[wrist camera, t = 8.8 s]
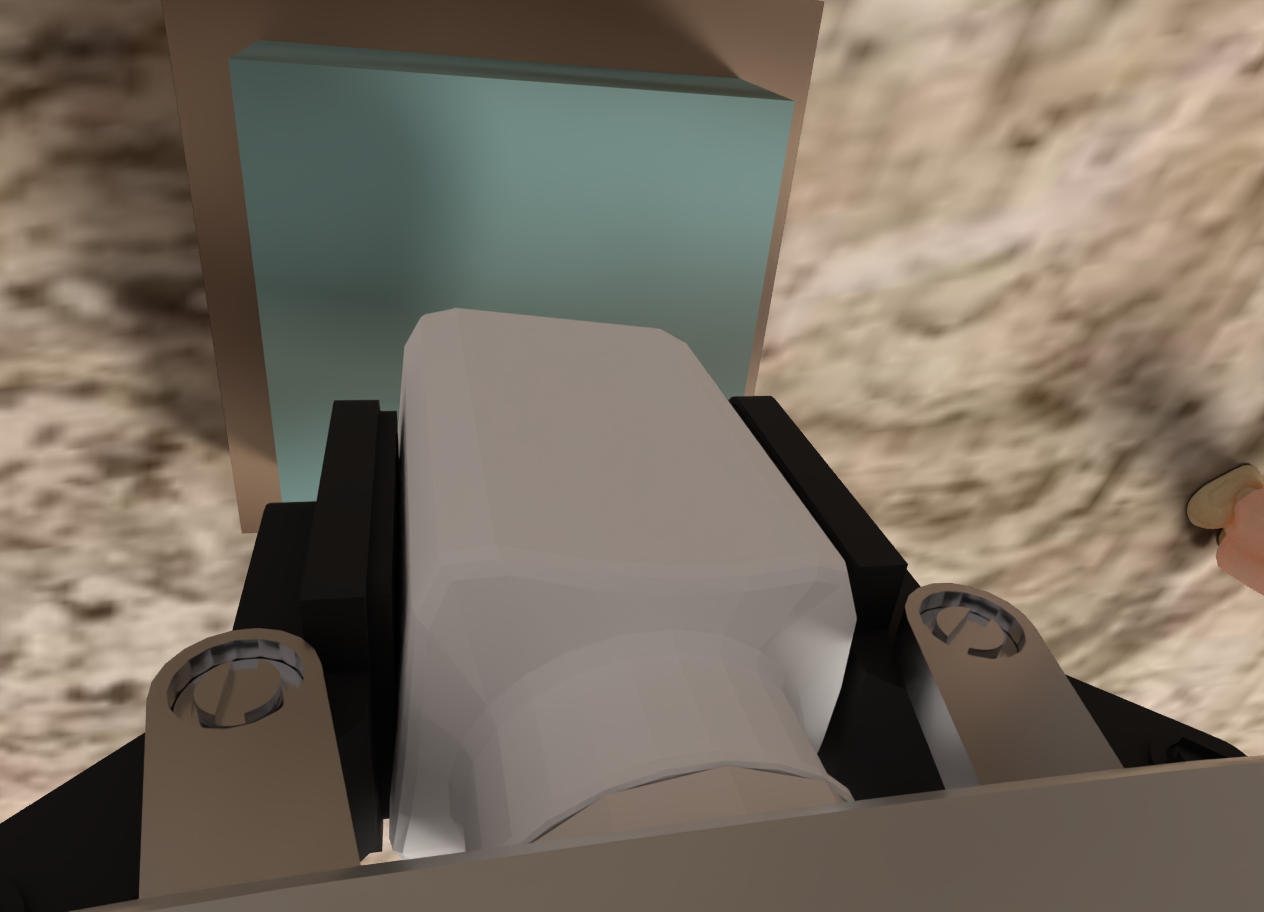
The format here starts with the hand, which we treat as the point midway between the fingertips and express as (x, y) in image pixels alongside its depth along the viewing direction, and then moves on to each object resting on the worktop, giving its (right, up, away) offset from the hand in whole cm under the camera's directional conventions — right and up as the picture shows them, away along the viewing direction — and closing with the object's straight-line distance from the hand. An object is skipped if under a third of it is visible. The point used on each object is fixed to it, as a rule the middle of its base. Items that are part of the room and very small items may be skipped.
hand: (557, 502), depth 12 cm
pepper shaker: (-1, +1, +2) cm, 2 cm away
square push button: (-2, +6, +10) cm, 11 cm away
